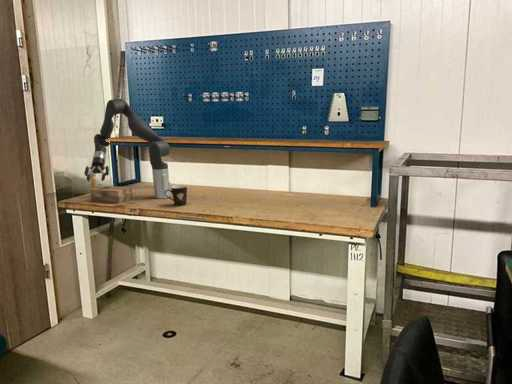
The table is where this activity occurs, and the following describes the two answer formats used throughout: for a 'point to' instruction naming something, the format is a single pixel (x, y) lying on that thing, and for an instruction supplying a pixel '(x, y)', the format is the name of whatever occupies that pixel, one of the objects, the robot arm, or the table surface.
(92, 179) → the wooden key
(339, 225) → the table surface
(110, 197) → the brown rectangular block
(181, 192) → the coffee mug
